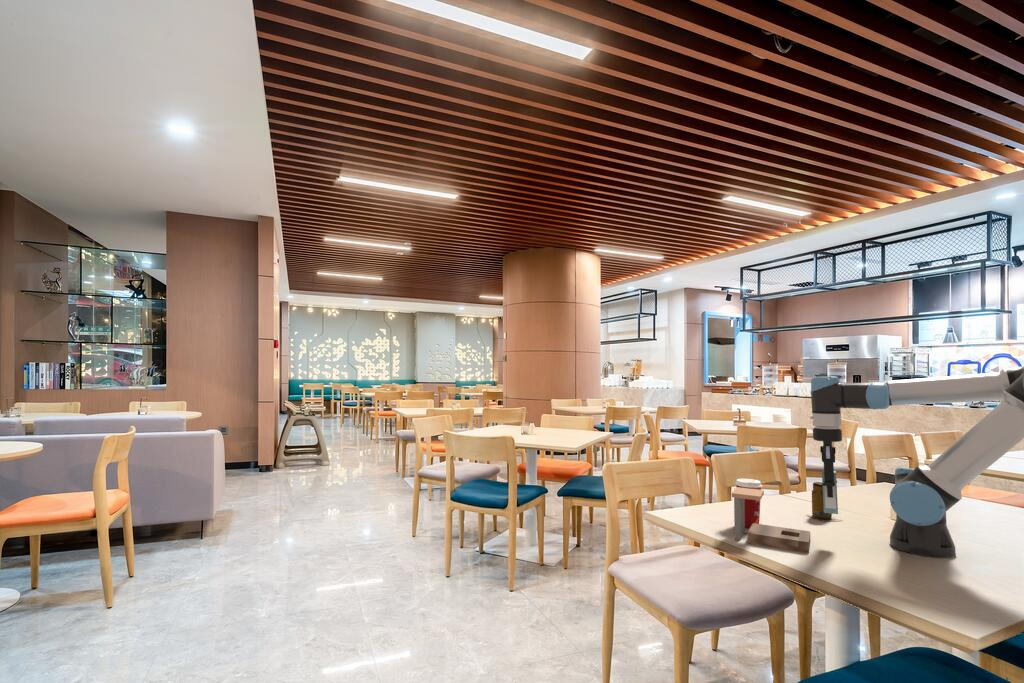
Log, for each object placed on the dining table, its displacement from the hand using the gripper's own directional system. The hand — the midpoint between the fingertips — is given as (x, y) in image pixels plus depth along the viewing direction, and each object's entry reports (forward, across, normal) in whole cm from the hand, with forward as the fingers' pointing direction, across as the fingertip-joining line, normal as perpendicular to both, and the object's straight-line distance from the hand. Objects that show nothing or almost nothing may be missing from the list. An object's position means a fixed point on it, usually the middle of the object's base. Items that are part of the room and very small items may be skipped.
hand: (830, 506), depth 158 cm
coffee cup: (+11, -7, -24) cm, 27 cm away
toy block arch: (+11, +6, -22) cm, 25 cm away
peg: (+2, 0, 0) cm, 2 cm away
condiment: (+11, -32, -3) cm, 34 cm away
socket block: (+11, +6, -14) cm, 19 cm away
